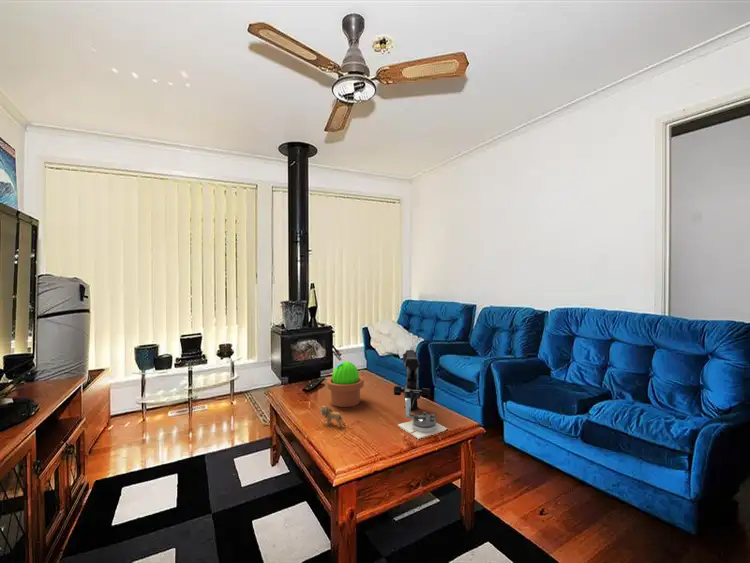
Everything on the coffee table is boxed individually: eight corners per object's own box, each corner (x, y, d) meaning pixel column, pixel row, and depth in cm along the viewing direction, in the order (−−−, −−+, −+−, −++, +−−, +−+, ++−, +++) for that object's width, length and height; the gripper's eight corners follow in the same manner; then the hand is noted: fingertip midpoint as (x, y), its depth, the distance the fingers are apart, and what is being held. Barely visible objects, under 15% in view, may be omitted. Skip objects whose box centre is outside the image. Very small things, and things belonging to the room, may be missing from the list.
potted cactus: (366, 396, 222) (365, 356, 222) (361, 409, 200) (360, 366, 200) (331, 395, 224) (331, 356, 224) (323, 408, 203) (322, 365, 202)
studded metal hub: (435, 419, 179) (435, 395, 179) (435, 428, 168) (435, 404, 168) (406, 417, 181) (406, 394, 181) (404, 426, 170) (404, 402, 170)
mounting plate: (397, 426, 178) (397, 420, 178) (426, 418, 187) (426, 413, 187) (418, 440, 163) (418, 433, 163) (447, 430, 172) (447, 424, 172)
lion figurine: (318, 424, 181) (318, 407, 181) (324, 420, 186) (323, 403, 186) (343, 429, 176) (343, 411, 176) (348, 424, 181) (348, 407, 180)
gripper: (428, 387, 196) (428, 415, 185) (394, 385, 198) (392, 412, 187) (429, 378, 188) (429, 406, 177) (394, 375, 190) (392, 403, 179)
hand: (410, 407), depth 180 cm, fingers closed
